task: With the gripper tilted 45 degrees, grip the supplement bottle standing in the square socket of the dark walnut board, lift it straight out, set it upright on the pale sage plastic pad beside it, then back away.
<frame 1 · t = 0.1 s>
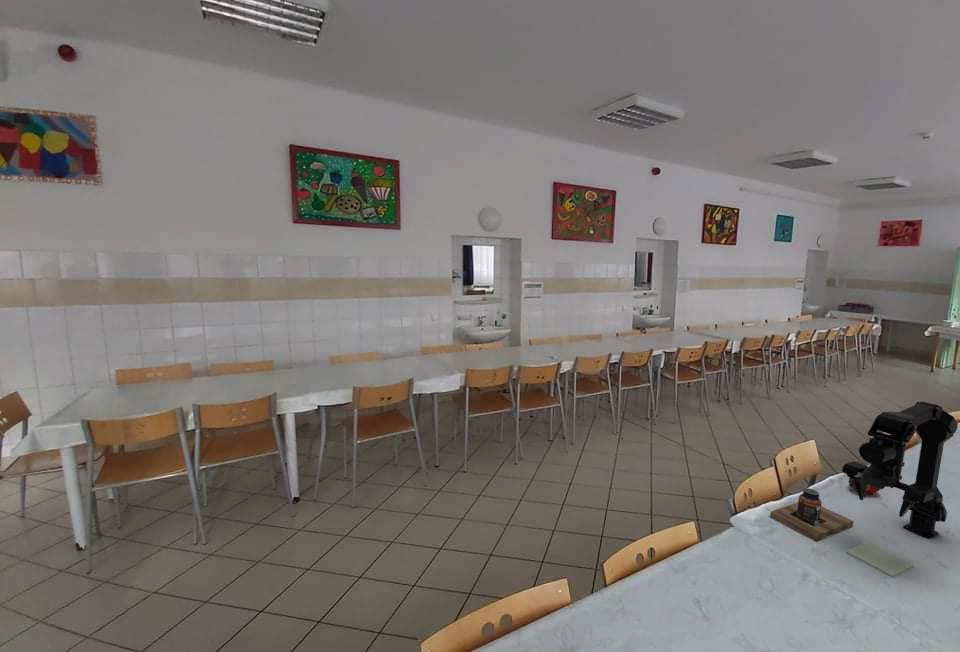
hand: (880, 507, 124), 15 cm above the table, tool pointing down, fingers open, 9 cm apart
socket board: (810, 521, 142), on the table
dragon fruit: (863, 492, 161), on the table
supplement bottle: (806, 523, 141), resting in socket board
sage pad: (878, 559, 124), on the table
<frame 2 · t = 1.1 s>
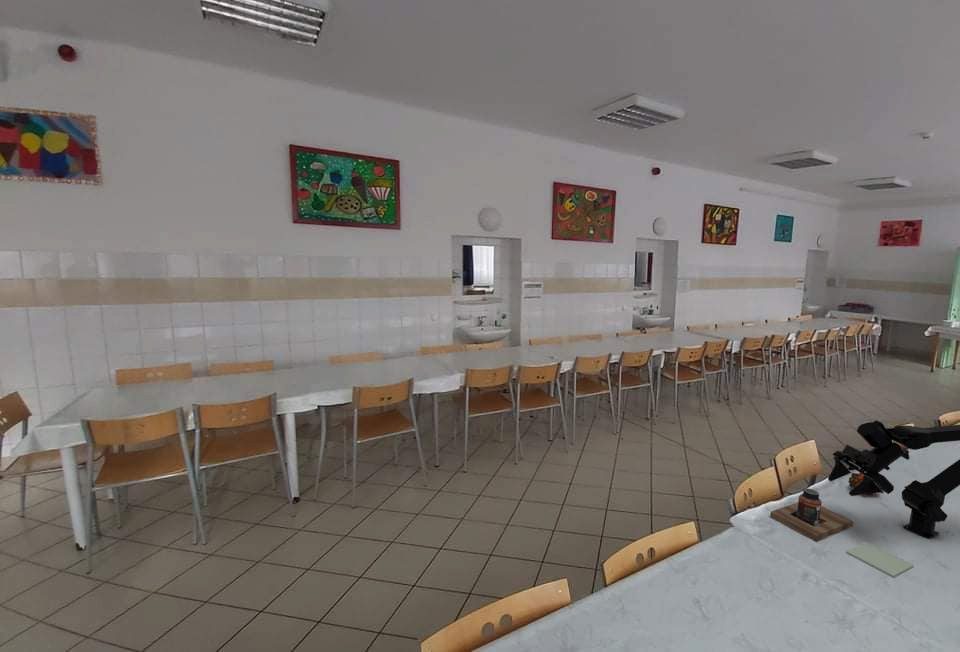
hand: (839, 487, 138), 13 cm above the table, tool tilted 45°, fingers open, 9 cm apart
nothing on the table moved.
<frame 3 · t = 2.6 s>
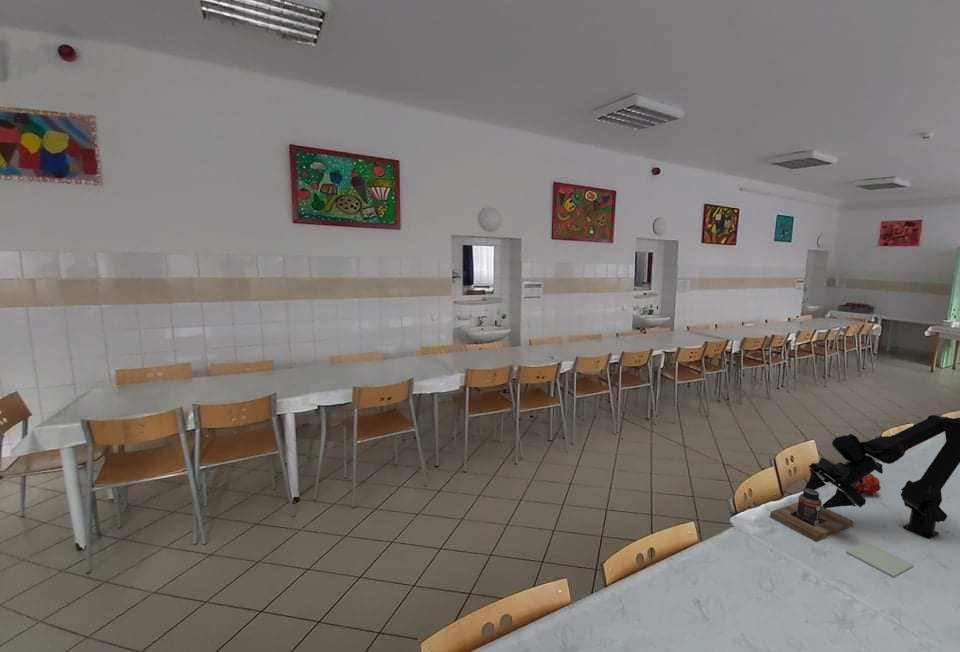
hand: (813, 499, 140), 9 cm above the table, tool tilted 45°, fingers open, 9 cm apart
nothing on the table moved.
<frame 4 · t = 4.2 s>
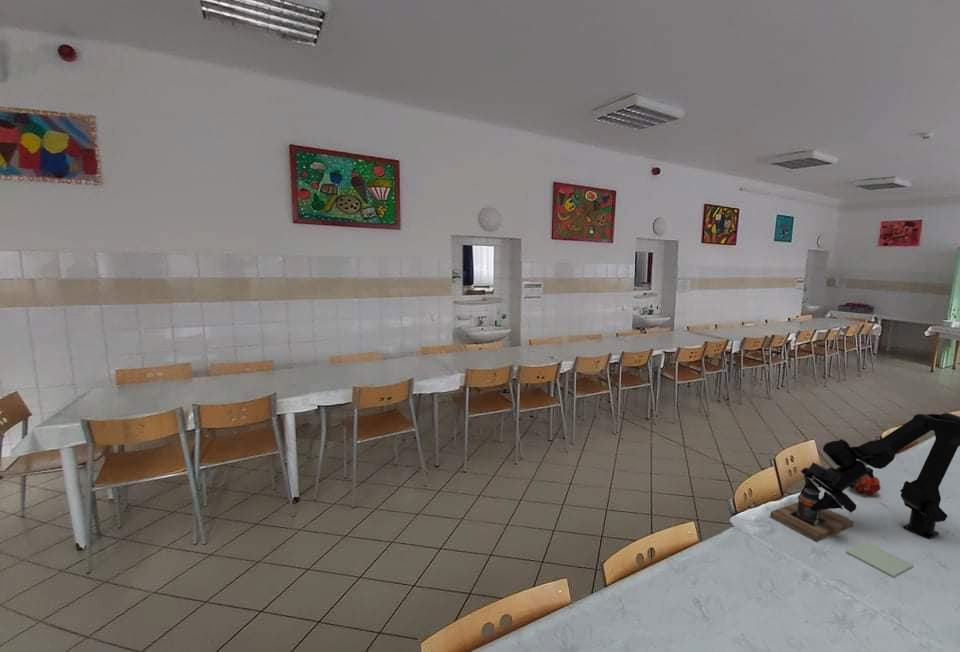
hand: (805, 504, 140), 7 cm above the table, tool tilted 45°, fingers closed on supplement bottle, 6 cm apart
supplement bottle: (806, 523, 141), resting in socket board, touching gripper
everything else where it was.
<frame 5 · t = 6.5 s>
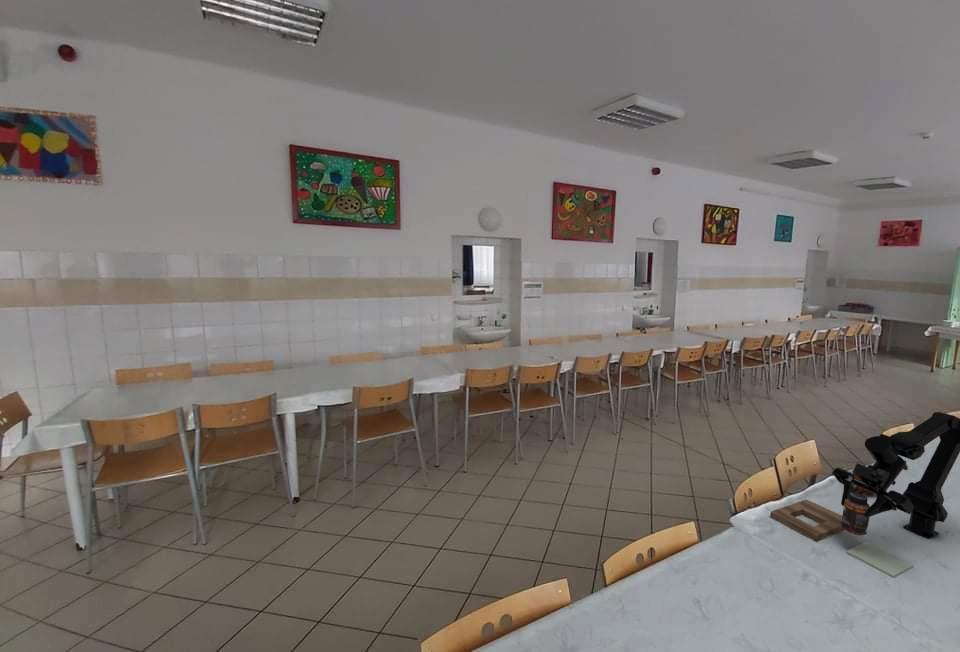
hand: (853, 510, 127), 12 cm above the table, tool tilted 45°, fingers closed on supplement bottle, 6 cm apart
supplement bottle: (853, 530, 128), point 5 cm above the table, touching gripper
everything else where it was.
when the fingers open (8 cm above the table, at t = 8.8 s): supplement bottle drops 1 cm, resting on sage pad.
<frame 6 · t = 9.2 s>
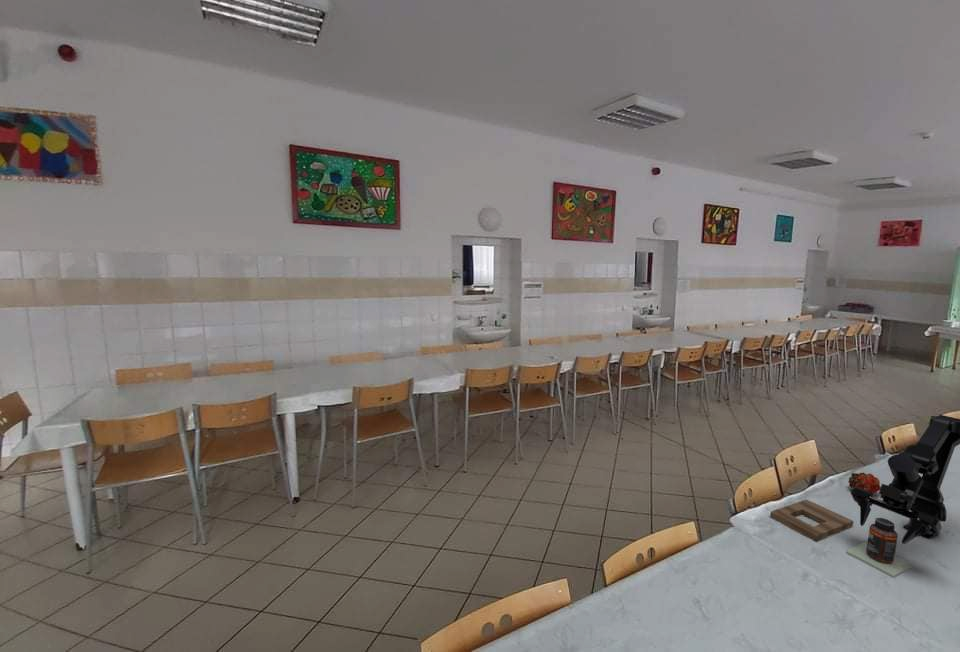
hand: (881, 533, 122), 9 cm above the table, tool tilted 45°, fingers open, 9 cm apart
supplement bottle: (879, 558, 124), resting on sage pad
everything else where it was.
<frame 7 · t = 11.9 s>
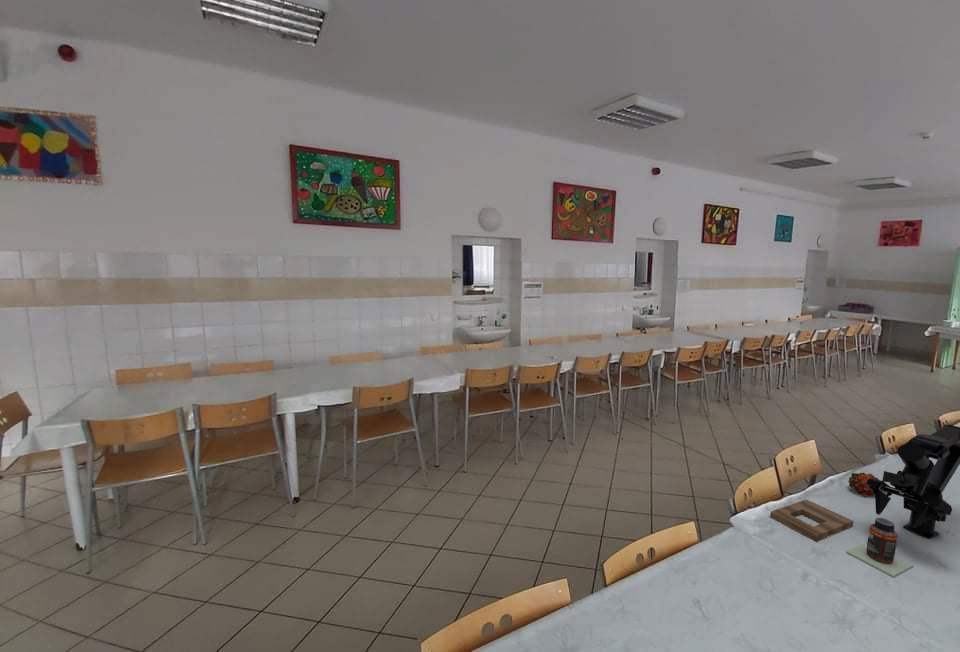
hand: (894, 520, 127), 9 cm above the table, tool tilted 35°, fingers open, 9 cm apart
nothing on the table moved.
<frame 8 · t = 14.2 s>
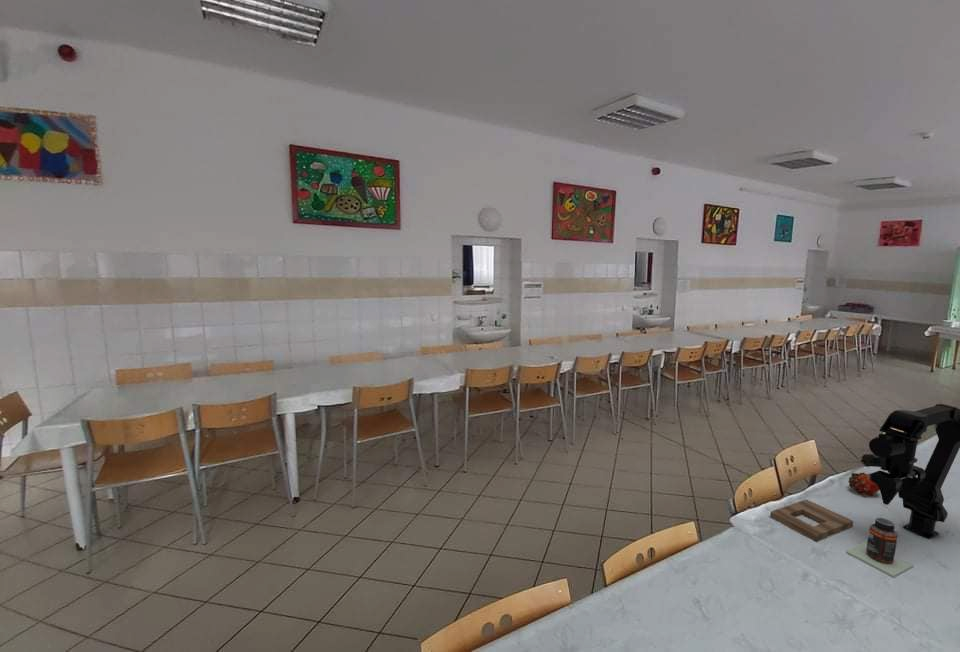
hand: (893, 501, 131), 13 cm above the table, tool pointing down, fingers open, 9 cm apart
nothing on the table moved.
at the end: supplement bottle inside the target area on the sage pad (0.2 cm from its centre), point 0.4 cm above the sage pad's base; supplement bottle tilted 0°; the gripper is holding nothing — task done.
